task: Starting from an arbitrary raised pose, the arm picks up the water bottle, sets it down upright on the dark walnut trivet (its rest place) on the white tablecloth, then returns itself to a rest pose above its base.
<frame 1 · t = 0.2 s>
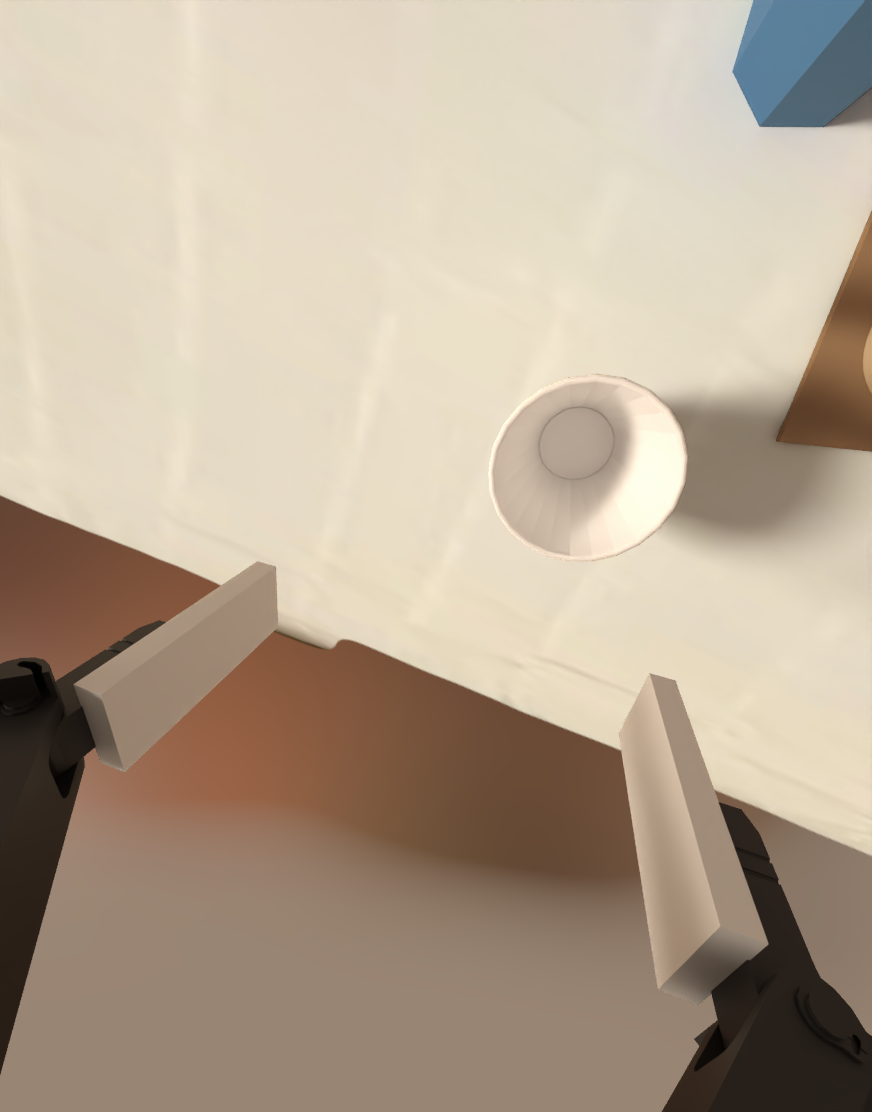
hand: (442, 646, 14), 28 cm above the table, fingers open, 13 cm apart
water bottle: (824, 29, 24), on the table
cup: (575, 443, 37), on the table
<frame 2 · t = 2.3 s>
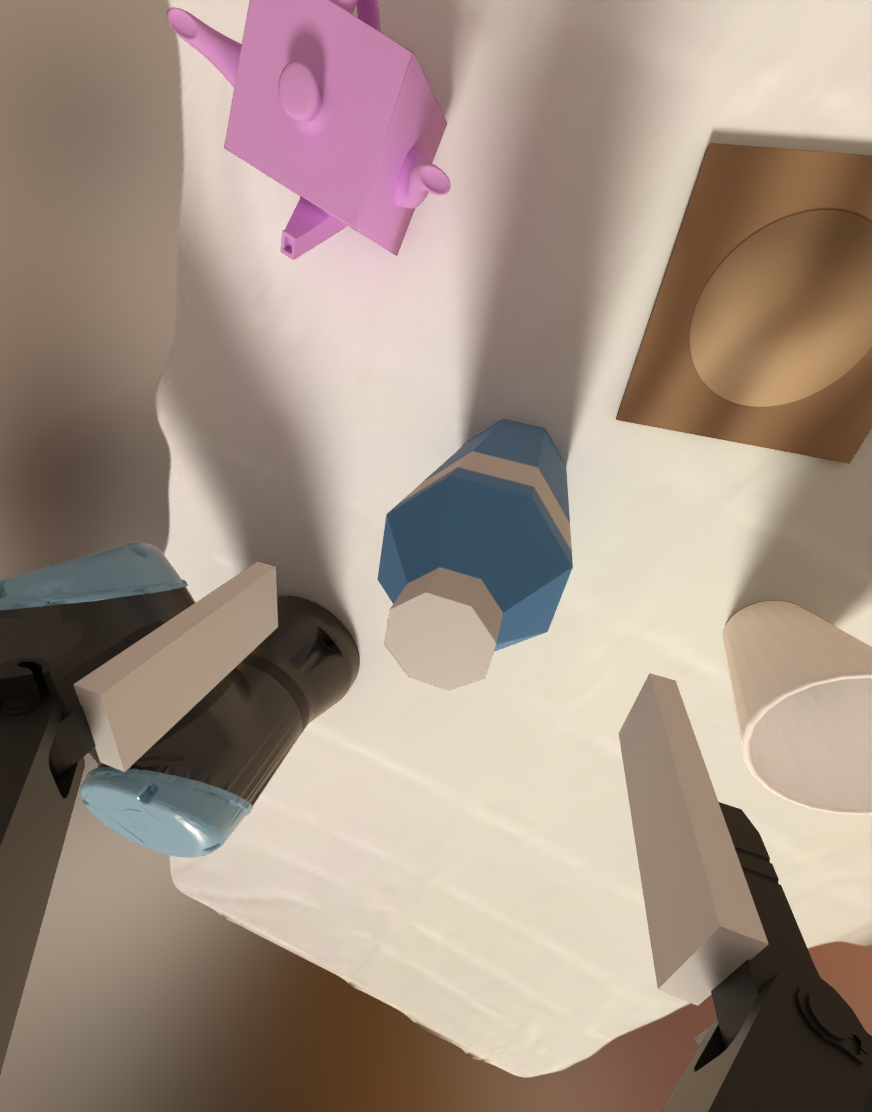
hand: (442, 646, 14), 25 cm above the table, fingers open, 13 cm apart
teapot: (368, 178, 30), on the table
walnut trivet: (781, 317, 28), on the table
water bottle: (510, 473, 37), on the table
cup: (766, 632, 37), on the table
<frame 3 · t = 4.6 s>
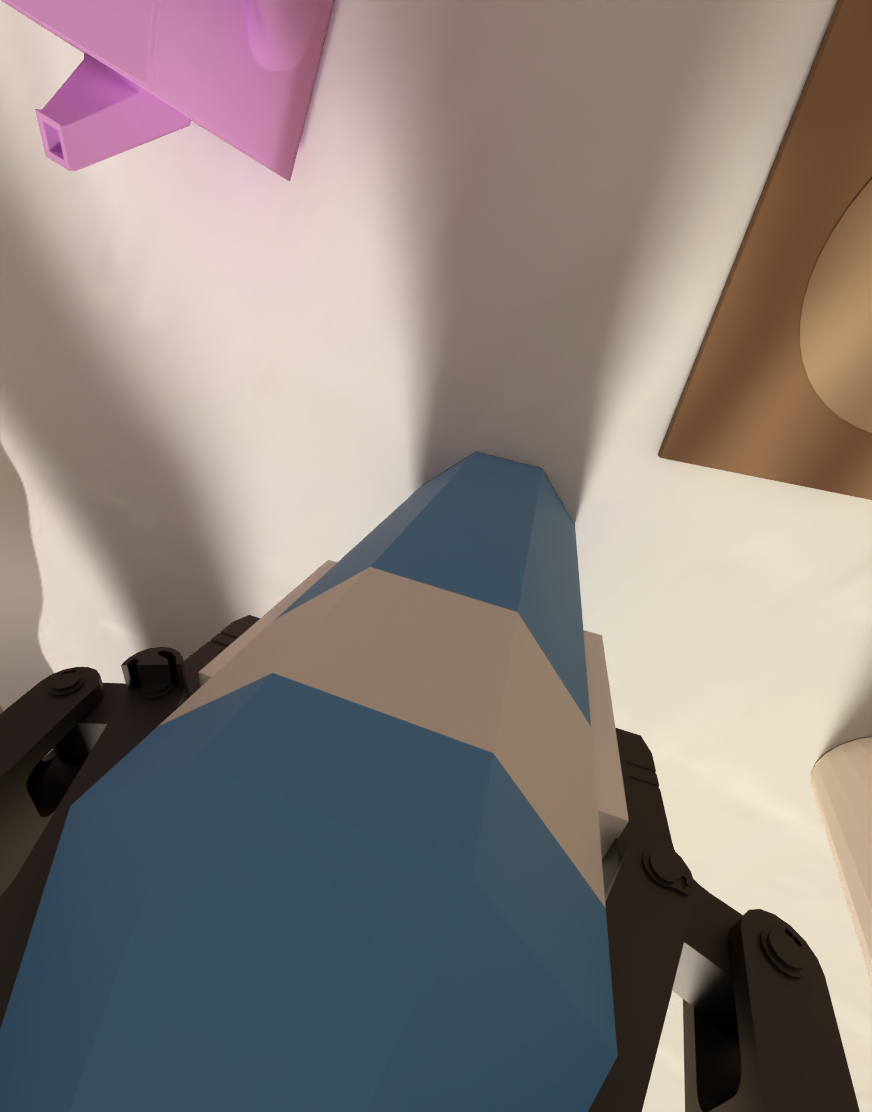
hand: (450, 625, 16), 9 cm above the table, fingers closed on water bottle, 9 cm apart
teapot: (239, 47, 18), on the table
water bottle: (489, 532, 24), on the table, touching gripper
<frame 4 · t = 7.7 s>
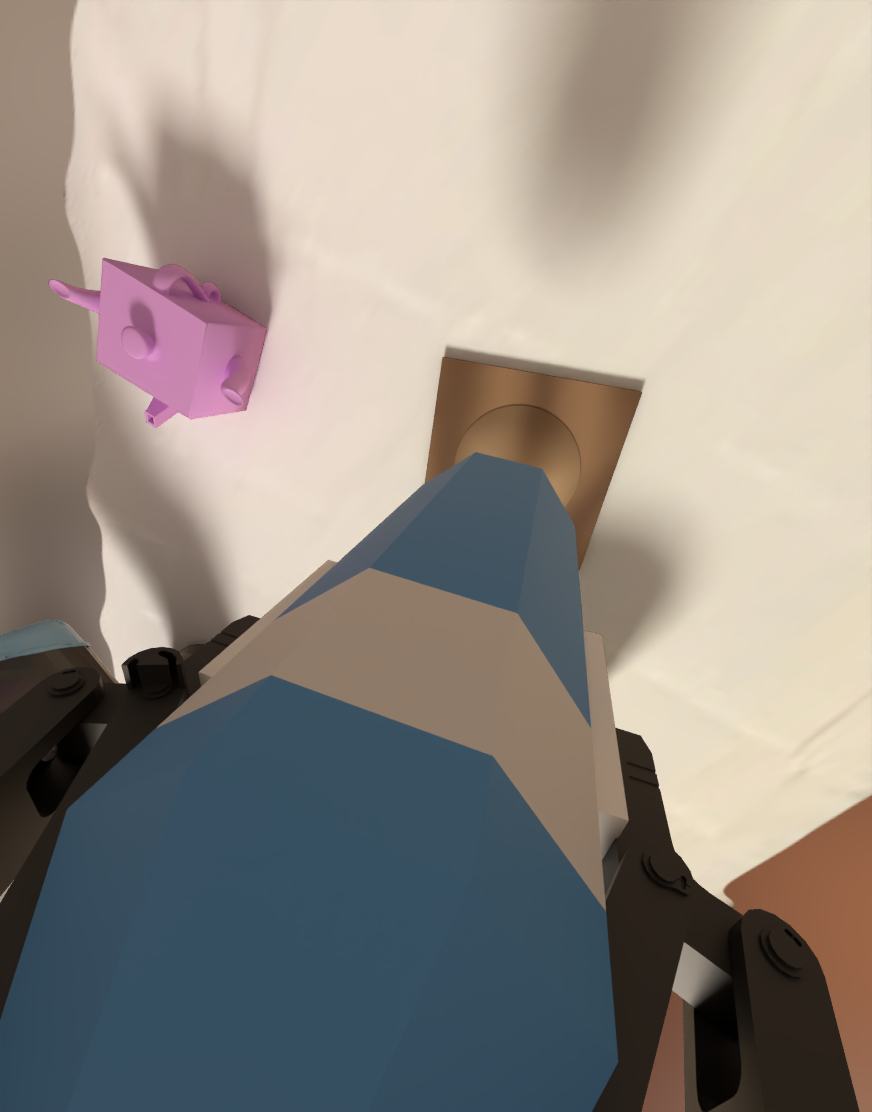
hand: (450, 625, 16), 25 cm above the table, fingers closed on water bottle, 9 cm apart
teapot: (223, 352, 40), on the table
walnut trivet: (515, 469, 37), on the table
water bottle: (489, 532, 24), point 16 cm above the table, touching gripper
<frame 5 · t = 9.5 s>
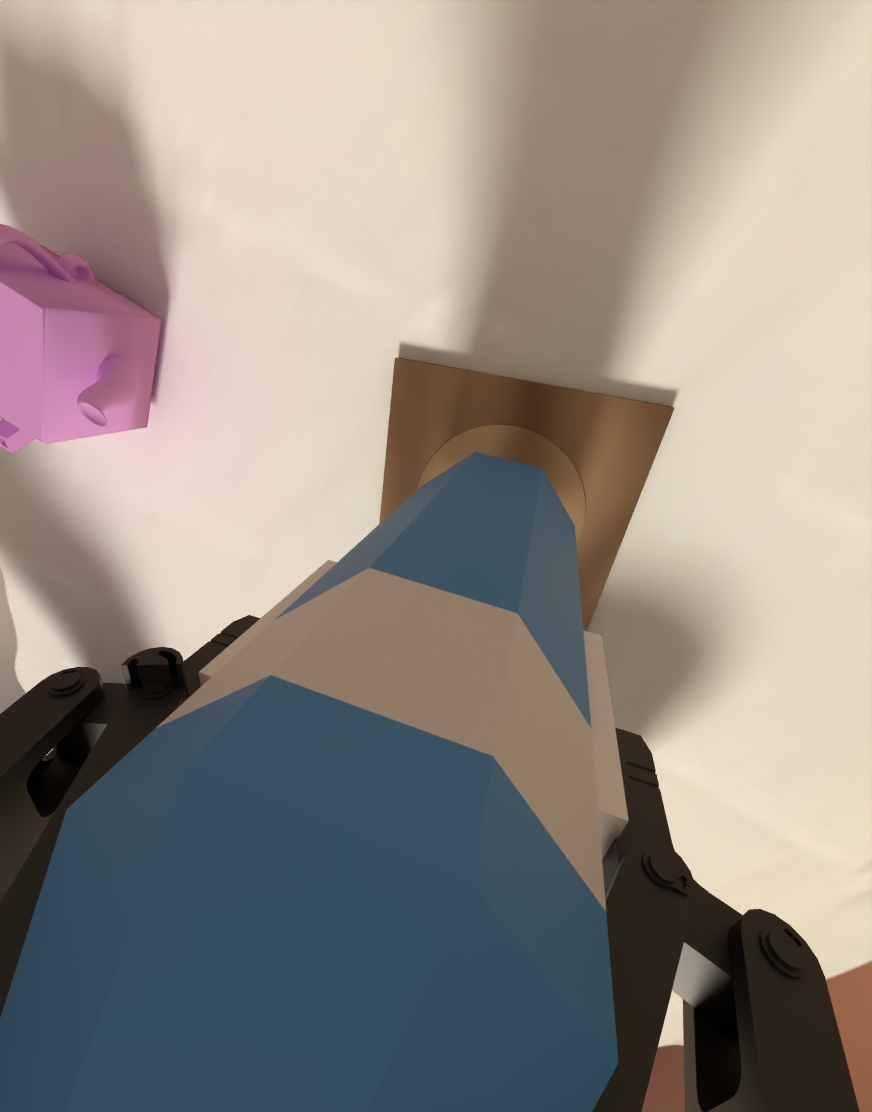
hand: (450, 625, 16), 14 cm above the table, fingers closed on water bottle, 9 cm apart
teapot: (116, 352, 31), on the table
walnut trivet: (497, 508, 28), on the table
water bottle: (489, 532, 24), point 4 cm above the table, touching gripper
when the fingers open (11 cm above the table, at t = 11.0 s): water bottle stays where it is, resting on walnut trivet.
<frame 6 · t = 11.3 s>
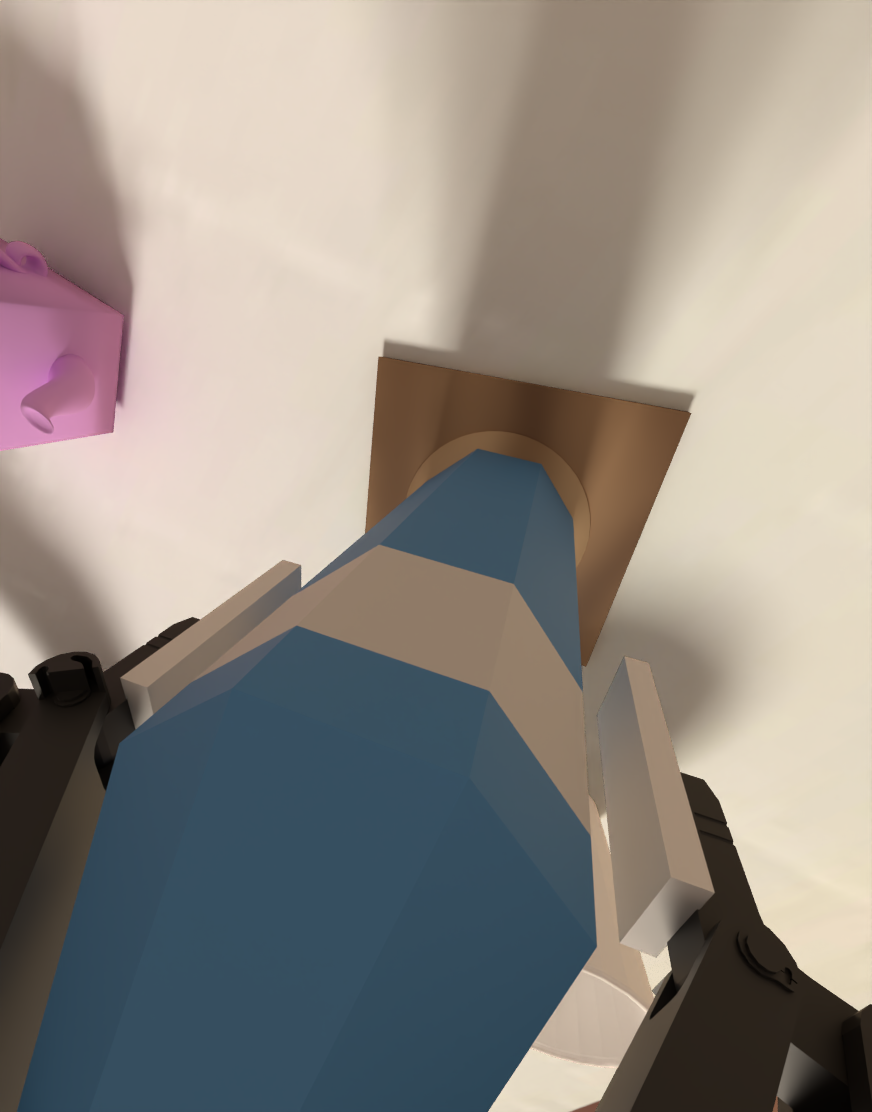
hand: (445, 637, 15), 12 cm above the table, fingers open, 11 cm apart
teapot: (79, 350, 28), on the table
walnut trivet: (493, 522, 25), on the table
water bottle: (491, 526, 25), point 1 cm above the table, touching walnut trivet
cup: (553, 803, 34), on the table
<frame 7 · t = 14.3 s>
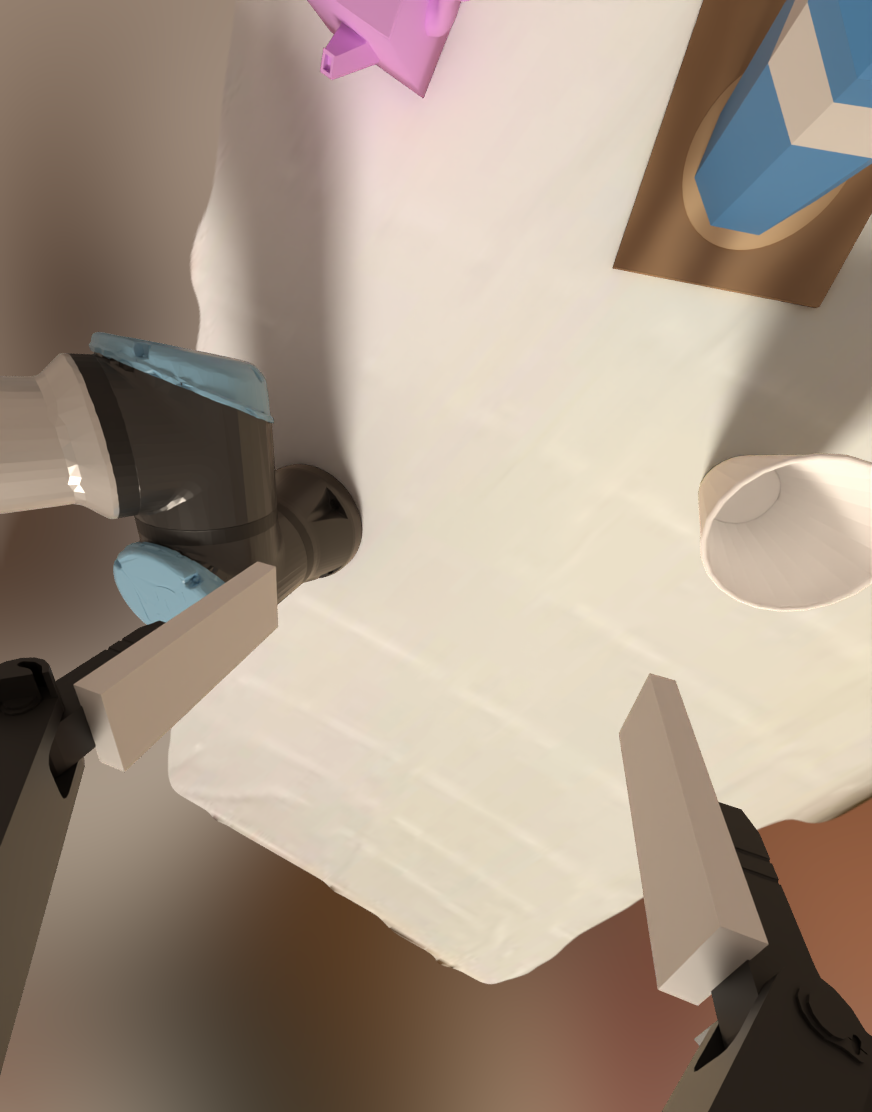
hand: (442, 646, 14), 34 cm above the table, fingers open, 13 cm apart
teapot: (402, 23, 33), on the table
walnut trivet: (765, 160, 31), on the table
water bottle: (767, 158, 30), point 1 cm above the table, touching walnut trivet
cup: (738, 490, 40), on the table
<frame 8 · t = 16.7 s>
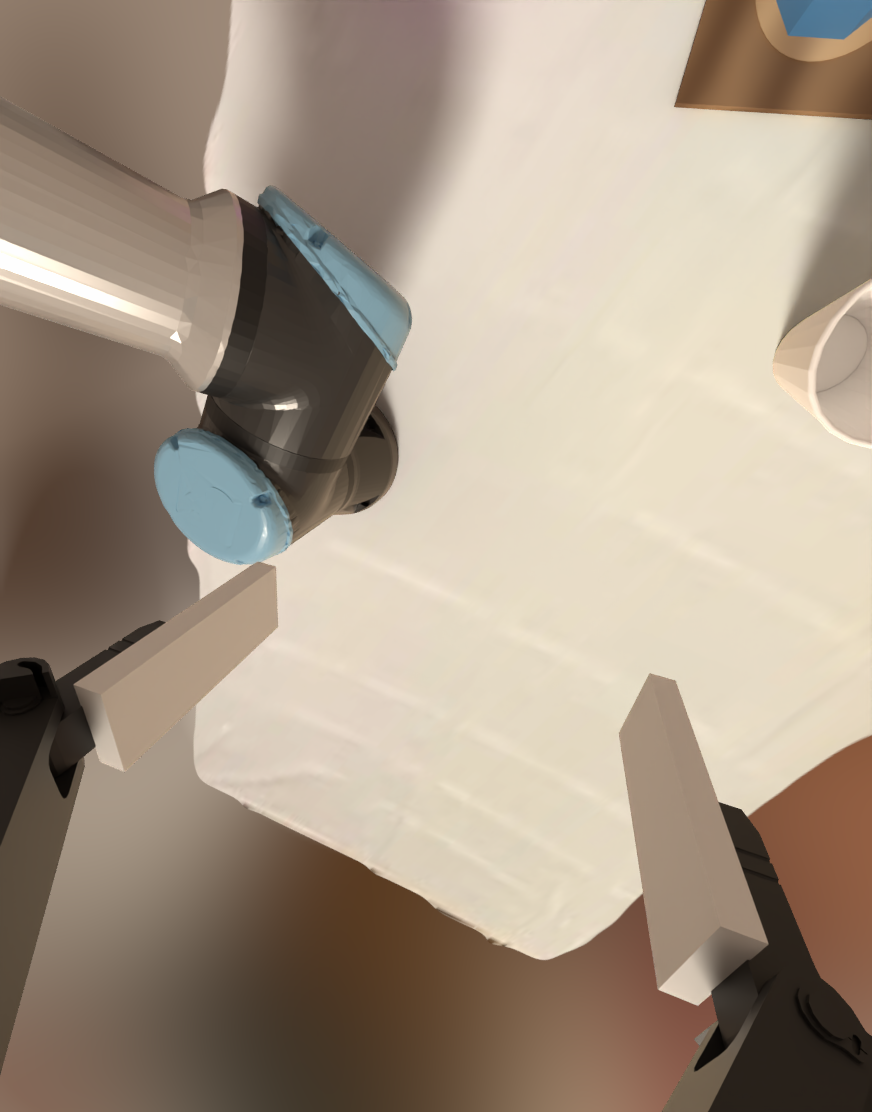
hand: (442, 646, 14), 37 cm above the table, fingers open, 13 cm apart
cup: (817, 354, 37), on the table
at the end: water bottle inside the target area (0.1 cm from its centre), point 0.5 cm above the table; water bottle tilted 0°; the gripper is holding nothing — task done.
